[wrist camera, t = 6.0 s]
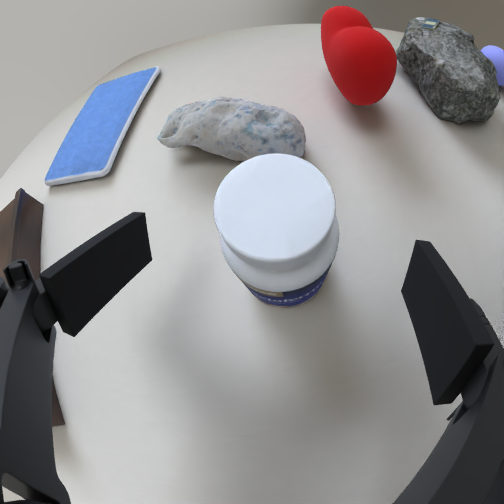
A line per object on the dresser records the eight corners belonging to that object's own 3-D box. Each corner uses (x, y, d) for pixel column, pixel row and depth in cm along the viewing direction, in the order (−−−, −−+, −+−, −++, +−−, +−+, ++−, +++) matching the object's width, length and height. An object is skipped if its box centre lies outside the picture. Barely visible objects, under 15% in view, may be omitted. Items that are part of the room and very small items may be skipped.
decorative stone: (311, 123, 23) (311, 82, 19) (301, 180, 21) (299, 139, 17) (185, 117, 26) (169, 83, 22) (161, 166, 24) (136, 133, 20)
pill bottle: (249, 314, 19) (200, 285, 9) (242, 238, 21) (198, 156, 11) (332, 303, 18) (366, 261, 9) (318, 226, 20) (329, 134, 11)
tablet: (100, 89, 33) (96, 84, 32) (164, 69, 31) (161, 63, 30) (47, 188, 28) (41, 184, 26) (112, 178, 25) (105, 172, 24)
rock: (517, 140, 18) (533, 77, 9) (423, 143, 24) (420, 70, 16) (462, 61, 24) (459, 9, 16) (386, 64, 30) (372, 10, 22)
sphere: (513, 96, 21) (527, 68, 15) (492, 92, 22) (507, 61, 16) (488, 69, 24) (499, 41, 17) (466, 64, 24) (476, 34, 18)
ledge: (66, 424, 18) (33, 430, 13) (15, 421, 18) (-11, 423, 14) (44, 203, 27) (21, 187, 22) (0, 240, 27) (-21, 228, 23)
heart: (314, 70, 26) (310, -2, 17) (357, 70, 25) (363, 1, 16) (338, 139, 22) (347, 46, 13) (392, 139, 22) (417, 53, 12)
